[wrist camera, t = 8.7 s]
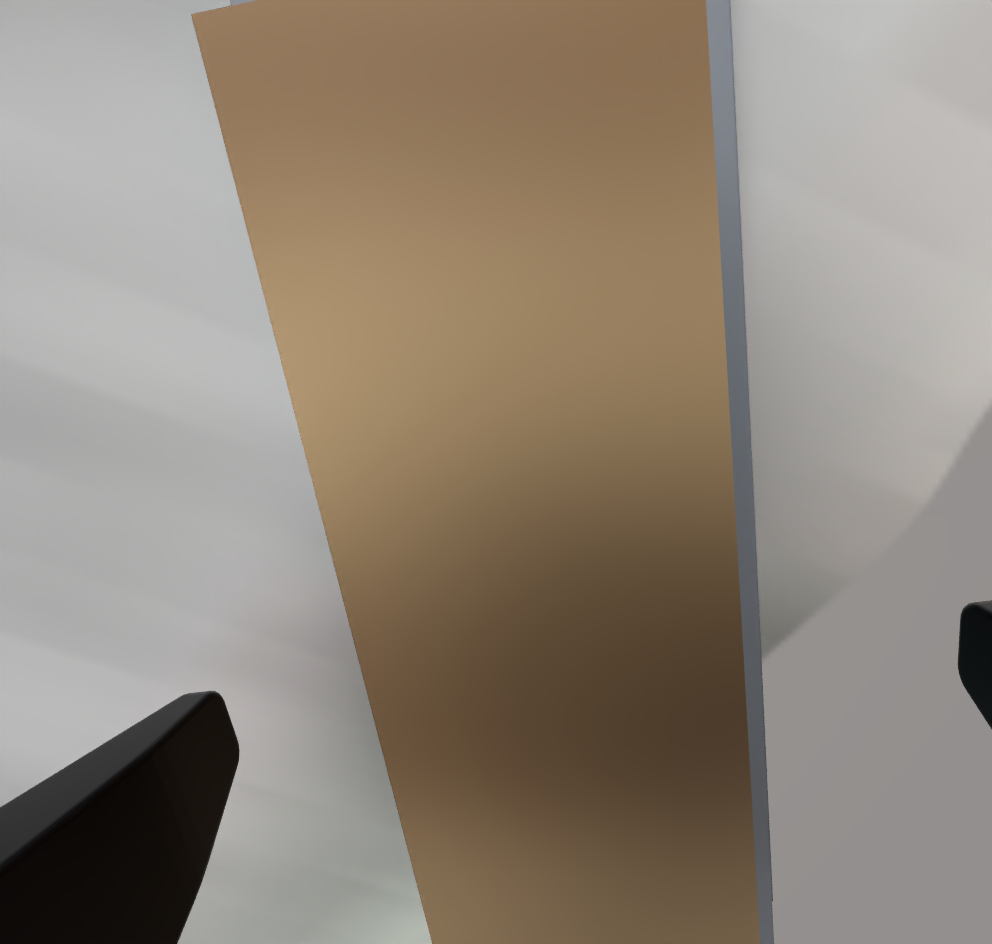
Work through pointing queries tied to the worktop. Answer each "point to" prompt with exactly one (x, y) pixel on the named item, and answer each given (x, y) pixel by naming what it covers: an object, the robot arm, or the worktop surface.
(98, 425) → the worktop surface
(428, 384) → the tan rectangular block
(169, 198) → the worktop surface
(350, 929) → the worktop surface
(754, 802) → the rail
